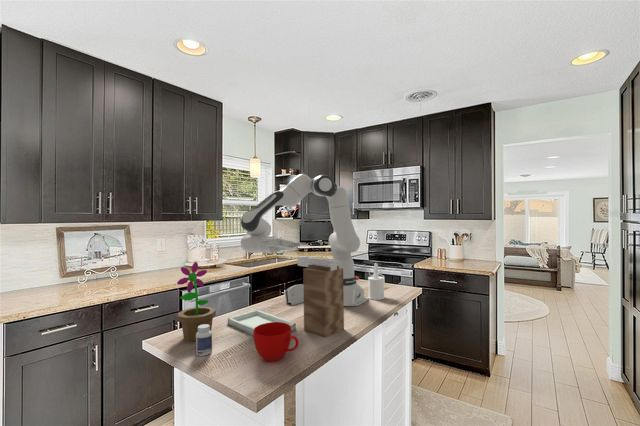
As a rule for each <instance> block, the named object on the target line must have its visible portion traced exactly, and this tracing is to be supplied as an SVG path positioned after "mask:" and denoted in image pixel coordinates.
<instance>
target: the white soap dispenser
mask: <svg viewBox="0 0 640 426" xmlns="http://www.w3.org/2000/svg"><path fill="white" fill-rule="evenodd" d="M373 266H374V268H373V267H372V268H370V269H369V271H368V275H370V276H368V277H367V281H368V296H367V297H368V298H369V299H370V300H372V299H373V300H374V301H380V300H381V299H382V300H384V299H385V289H386V285H385V281H386V280H385V278H386V277H385V275H383V274H382V273H379V264H378V263H377V262H375V263H374V265H373ZM371 270H374V271H373V274H370V272H371ZM382 300H381V301H382Z"/></svg>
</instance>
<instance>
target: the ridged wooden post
mask: <svg viewBox="0 0 640 426" xmlns="http://www.w3.org/2000/svg"><path fill="white" fill-rule="evenodd" d="M302 270H303V273H302V274H303V276H302V277H303V279H302V280H303V283H302V284H303V285H304V302H303V330H304V331H306V332H309V333H310V334H311V333H312V334H314V335H317V336H320V337H323V338H327V337H329V336H332V335H334V334H336V333H338V332H340V331H342V330H344V329H345V312H344V308H345V306H344V295H343V268H339V266H337V270H332V271H330V268H326V267H320V266H313V265H308V267H305V268H303V269H302Z"/></svg>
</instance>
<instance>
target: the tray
mask: <svg viewBox="0 0 640 426" xmlns="http://www.w3.org/2000/svg"><path fill="white" fill-rule="evenodd" d="M270 322H281V323H286V324H288V325H290V326H291V332H294V331H296V330H297V328H296V327H297V324H296V322H293V321H290V320H287V319H285V318H282V317H279V316H276V315H273V314H270V313H267V312H265V311H262V310H259V309H256V310H255V309H254V310H252V311H247V312H245V313H241V314H238V315H233V316H230V317H228V318H227V325H229V326H231V327H233V328H236V329H238V330H241V331H242V332H244V333H247V334H249V335H251V336H253V337H254V334H253V332H254V328H255V327H257V326H259V325H261V324H264V323H270Z"/></svg>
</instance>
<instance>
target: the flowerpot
mask: <svg viewBox="0 0 640 426" xmlns="http://www.w3.org/2000/svg"><path fill="white" fill-rule="evenodd" d="M198 269H199V264H198V262H197V261H195V262H193V264H192V266H191V269H188V268H187V267H184V266H182V267H181V268H180V271H181V273H182V274H183V275H185V276H187V277H182V278H180V279H179V280H177V282H176V283H177V285H185V284H187V285H186V290H187V292H186V293H185V294H182V295H181V296H180V297H179V299H181V300H183V301H192V300H194V299H195V307H189V308H186V309H182V310H181V311H179V312H178V313H177V320H178V322H179V323H181V329H182V335H183V340H185V341H184V342H187V341H188V342H187V343H196V333H197V332H198V326H200V325H203V324H208V325H210V331H211V332H212V329H213V328H212V327H213V319H214V317H216V313H217V312H216V309H215V307H212V306H204V305H206V304H208V303H209V300H208V299H199V291H198V287H204V281H202V280H201V279H200V278H199V277H204V276H205V275H206V274H207V273H208V271H207V269H201V270H199V271H198ZM190 270H191V272H190ZM187 282H188V283H187ZM197 286H198V287H197ZM193 288H194V292H192V291H193Z"/></svg>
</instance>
